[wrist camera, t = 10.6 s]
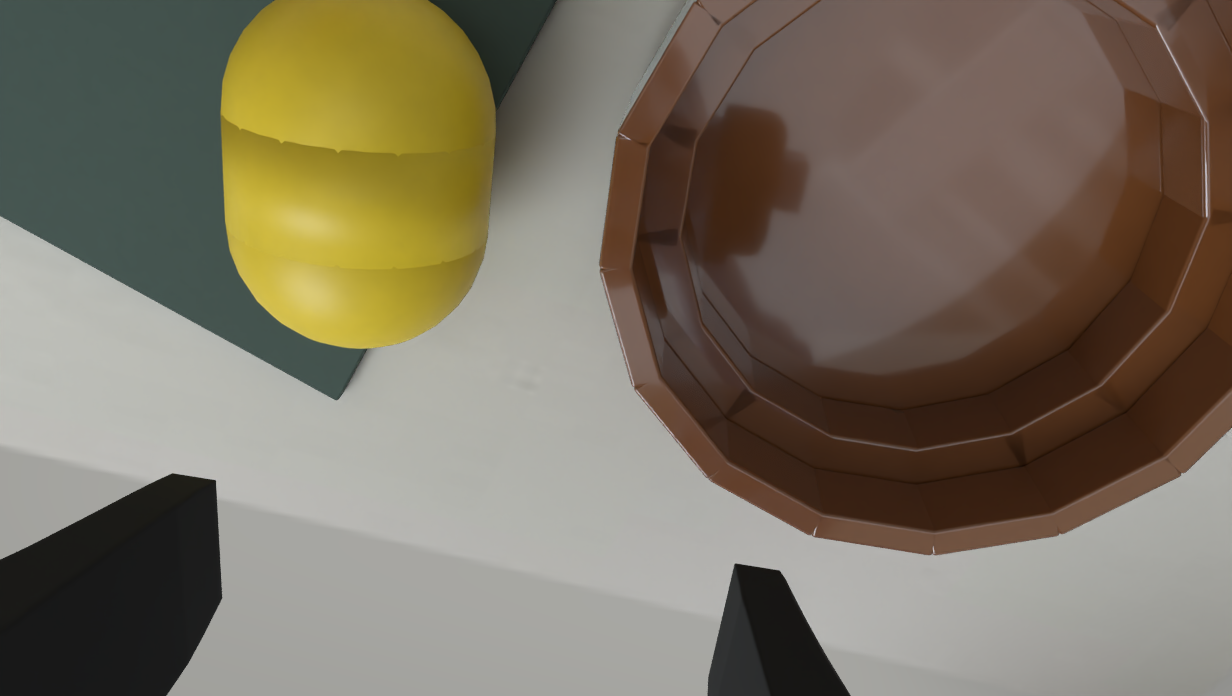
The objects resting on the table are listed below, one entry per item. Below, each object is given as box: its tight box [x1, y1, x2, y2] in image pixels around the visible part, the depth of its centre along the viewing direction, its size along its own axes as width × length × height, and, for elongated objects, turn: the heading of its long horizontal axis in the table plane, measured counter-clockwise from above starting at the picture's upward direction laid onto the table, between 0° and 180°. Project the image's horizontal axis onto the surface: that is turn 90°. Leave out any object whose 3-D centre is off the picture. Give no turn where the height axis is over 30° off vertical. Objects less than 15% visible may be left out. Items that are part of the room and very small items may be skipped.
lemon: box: [220, 0, 496, 349], centre depth 17 cm, size 7×5×5 cm
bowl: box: [599, 0, 1232, 555], centre depth 18 cm, size 12×12×4 cm
